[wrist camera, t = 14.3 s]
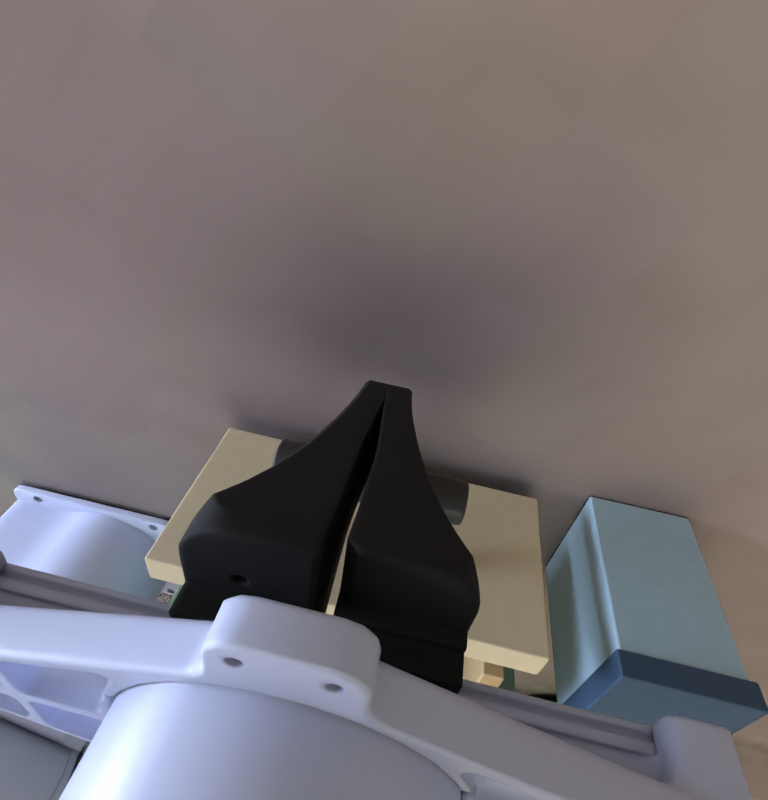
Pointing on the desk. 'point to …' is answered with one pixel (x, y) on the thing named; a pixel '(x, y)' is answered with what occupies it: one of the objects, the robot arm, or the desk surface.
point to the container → (643, 623)
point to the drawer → (472, 520)
